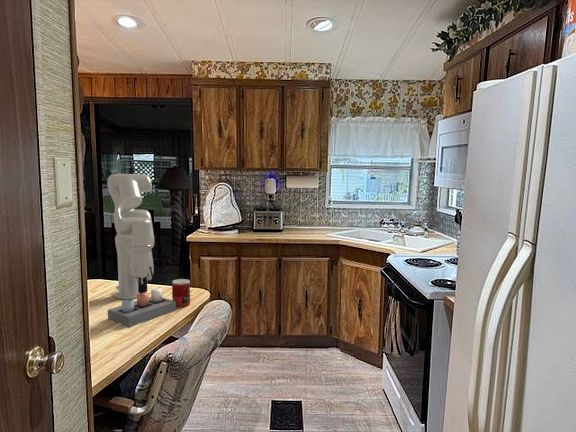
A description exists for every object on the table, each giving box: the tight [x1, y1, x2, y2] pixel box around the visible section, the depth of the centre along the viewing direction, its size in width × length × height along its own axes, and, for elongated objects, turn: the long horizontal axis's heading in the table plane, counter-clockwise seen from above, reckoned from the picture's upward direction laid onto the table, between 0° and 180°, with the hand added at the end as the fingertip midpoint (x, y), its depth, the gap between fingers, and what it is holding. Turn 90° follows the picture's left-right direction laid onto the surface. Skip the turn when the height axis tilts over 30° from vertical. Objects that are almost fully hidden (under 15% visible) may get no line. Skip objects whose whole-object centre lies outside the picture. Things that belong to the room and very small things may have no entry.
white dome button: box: [150, 287, 163, 302], centre depth 166 cm, size 5×5×4 cm
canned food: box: [171, 278, 191, 308], centre depth 174 cm, size 8×8×11 cm
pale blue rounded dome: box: [121, 299, 135, 314], centre depth 155 cm, size 5×5×4 cm
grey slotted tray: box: [107, 296, 177, 328], centre depth 161 cm, size 14×23×4 cm, turn 147°
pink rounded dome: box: [136, 291, 150, 306], centre depth 160 cm, size 5×5×4 cm
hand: (142, 292), depth 160 cm, fingers closed
